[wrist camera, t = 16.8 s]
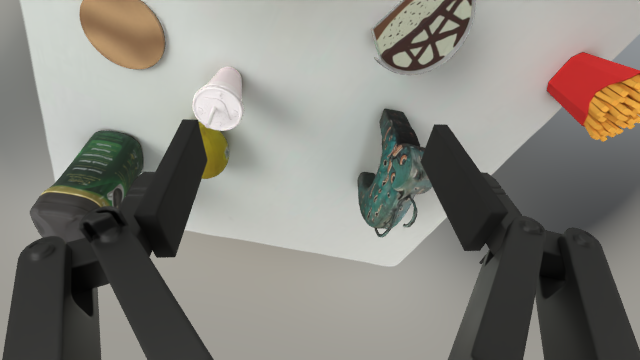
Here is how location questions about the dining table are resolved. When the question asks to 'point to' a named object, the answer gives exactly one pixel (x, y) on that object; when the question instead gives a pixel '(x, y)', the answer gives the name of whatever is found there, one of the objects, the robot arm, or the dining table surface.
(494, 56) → the dining table surface
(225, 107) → the white drink cup
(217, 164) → the lemon
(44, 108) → the dining table surface
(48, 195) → the coffee jar
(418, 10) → the food container
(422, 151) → the ceramic cat
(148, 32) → the cork coaster
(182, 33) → the dining table surface
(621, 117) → the french fries
